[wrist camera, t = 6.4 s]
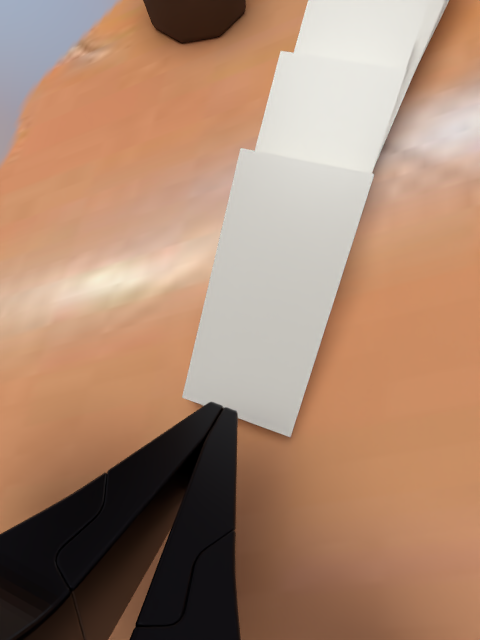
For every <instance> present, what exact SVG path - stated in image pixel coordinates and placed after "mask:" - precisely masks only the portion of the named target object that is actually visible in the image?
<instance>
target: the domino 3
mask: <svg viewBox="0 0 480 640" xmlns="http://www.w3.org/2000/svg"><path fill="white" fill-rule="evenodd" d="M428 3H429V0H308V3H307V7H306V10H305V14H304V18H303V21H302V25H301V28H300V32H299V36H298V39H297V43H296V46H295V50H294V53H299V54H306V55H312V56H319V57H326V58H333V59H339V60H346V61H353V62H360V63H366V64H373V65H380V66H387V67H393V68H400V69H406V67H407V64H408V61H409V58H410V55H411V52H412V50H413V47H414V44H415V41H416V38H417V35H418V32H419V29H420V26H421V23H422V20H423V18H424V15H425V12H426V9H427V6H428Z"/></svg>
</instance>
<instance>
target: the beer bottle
mask: <svg viewBox="0 0 480 640" xmlns="http://www.w3.org/2000/svg"><path fill="white" fill-rule="evenodd" d="M143 1H144V3H145V6H146V9H147V11H148V14H149V17H150V19H151V22H152V24H153V25H154V27H155V28H156V29H158V30H159V31H161V32H163V33H165V34H167V35H168V36H170V37H172V38H174V39H176V40H177V41H179V42H181V43H186V42H192V41H198V40H203V39H209V38H215V37H219V36H220V35H221V34H222V33H224V32H225V31H226V30H227V29H228V28H229V27H230V26H231V25H232V24H233V23H234V22H235V21H236V20H237V19H238V18H239V17H240V16H241V15H242V14H243V13H244V10H245V0H143Z"/></svg>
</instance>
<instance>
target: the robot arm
mask: <svg viewBox="0 0 480 640" xmlns="http://www.w3.org/2000/svg"><path fill="white" fill-rule="evenodd" d="M237 424H238V413H237V411H236V410H233V409H230V408H228V407H223V406H222V405H220V404H217V403H214V402H209V403H207V404H206V405H204V406H203V407H201V408H200V409H199V410H197V411H196V412H194V413H193V414H191V415H190V416H188V417H187V418H185V419H184V420H182V421H181V422H179V423H178V424H176V425H175V426H173V427H172V428H170V429H169V430H167V431H166V432H164V433H163V434H161V435H160V436H158V437H157V438H156V439H154V440H153V441H151V442H150V443H148V444H147V445H145V446H144V447H142V448H141V449H139V450H138V451H136V452H135V453H133V454H132V455H130V456H129V457H127V458H126V459H124V460H123V461H121V462H120V463H118V464H117V465H115V466H114V467H113V468H111V469H110V470H108V472H107V473H103V474H102V475H100V476H99V477H97V478H96V479H95V480H93V481H92V482H90V483H88V484H87V485H85V486H84V487H82V488H81V489H79V490H78V491H76V492H74V493H73V494H71V495H70V496H68V497H66V498H64V499H63V500H61V501H59V502H57V503H56V504H54V505H52V506H50V507H49V508H47V509H45V510H43V511H42V512H40V513H38V514H36V515H34V516H33V517H31V518H29V519H27V520H25V521H23V522H22V523H20V524H18V525H16V526H14V527H12V528H11V529H9V530H7V531H5V532H3V533H2V534H0V640H108V639H109V637H110V635H111V633H112V632H113V630H114V628H115V626H116V625H117V623H118V621H119V619H120V617H121V616H122V614H123V612H124V610H125V609H126V607H127V605H128V603H129V602H130V600H131V598H132V596H133V594H134V593H135V591H136V589H137V587H138V586H139V584H140V582H141V580H142V579H143V577H144V575H145V573H146V572H147V570H148V568H149V566H150V564H151V563H152V561H153V559H154V557H155V556H156V554H157V552H158V550H159V549H160V547H161V545H162V543H163V541H164V540H165V538H166V536H167V534H168V533H169V531H170V529H171V531H170V534H169V536H168V539H167V542H166V544H165V547H164V550H163V552H162V555H161V558H160V560H159V563H158V566H157V568H156V571H155V574H154V576H153V579H152V582H151V584H150V587H149V590H148V592H147V595H146V598H145V600H144V603H143V606H142V608H141V611H140V614H139V616H138V619H137V622H136V628H134V630H133V633H132V635H131V638H130V640H241V638H240V627H239V616H238V605H237V591H236V574H235V536H236V533H235V528H236V476H237ZM171 527H172V528H171Z"/></svg>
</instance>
